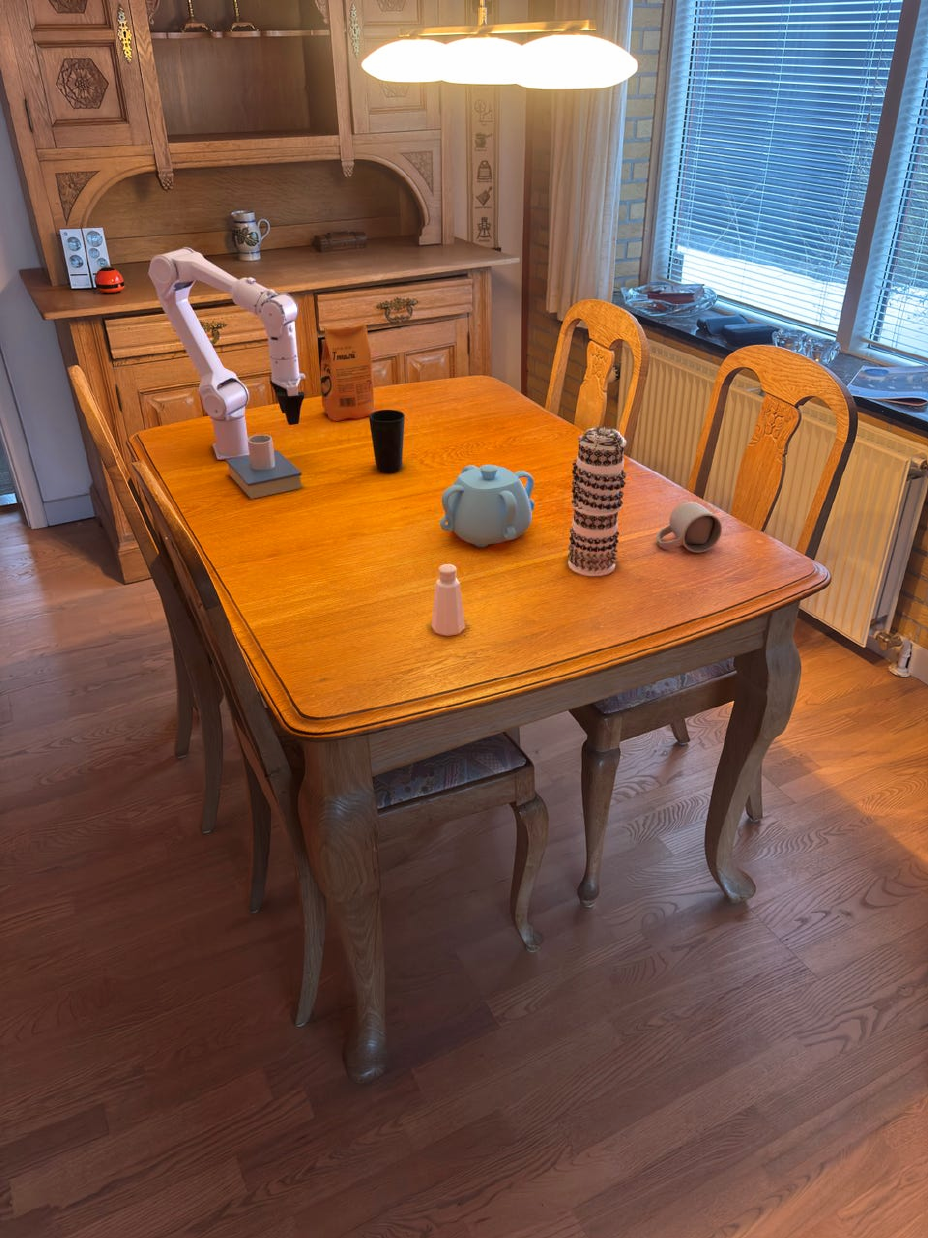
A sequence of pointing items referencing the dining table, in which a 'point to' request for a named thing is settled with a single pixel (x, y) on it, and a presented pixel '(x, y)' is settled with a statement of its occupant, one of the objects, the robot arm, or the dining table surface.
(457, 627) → the salt shaker
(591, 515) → the decorative candle
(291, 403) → the robot arm
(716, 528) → the ceramic mug
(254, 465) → the white cylindrical tumbler
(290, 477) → the blue hardcover book
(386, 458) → the cup
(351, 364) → the coffee package
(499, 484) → the decorative pot
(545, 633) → the dining table surface
